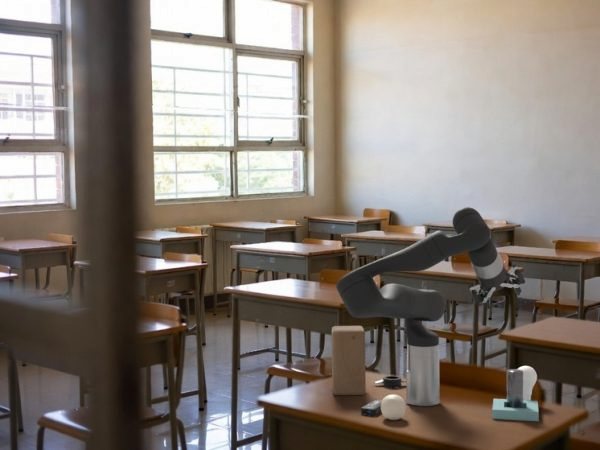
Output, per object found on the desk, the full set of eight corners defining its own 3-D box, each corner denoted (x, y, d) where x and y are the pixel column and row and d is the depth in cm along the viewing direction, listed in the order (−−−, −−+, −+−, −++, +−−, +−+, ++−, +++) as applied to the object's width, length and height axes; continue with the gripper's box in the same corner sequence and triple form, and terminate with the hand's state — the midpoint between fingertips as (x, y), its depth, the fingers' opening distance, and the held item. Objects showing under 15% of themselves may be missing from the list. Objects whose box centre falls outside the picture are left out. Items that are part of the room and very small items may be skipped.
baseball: (407, 416, 219) (407, 392, 219) (404, 423, 212) (404, 398, 212) (382, 414, 221) (382, 390, 220) (379, 422, 213) (379, 397, 213)
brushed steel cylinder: (506, 415, 218) (506, 372, 218) (506, 411, 222) (506, 368, 222) (523, 416, 217) (523, 372, 217) (523, 412, 221) (522, 369, 221)
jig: (492, 418, 215) (492, 409, 215) (493, 407, 227) (493, 398, 227) (538, 421, 212) (538, 412, 212) (537, 409, 224) (537, 400, 224)
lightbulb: (538, 406, 227) (537, 368, 226) (515, 406, 228) (515, 367, 228) (536, 401, 233) (535, 364, 232) (514, 400, 234) (514, 363, 234)
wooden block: (365, 395, 242) (365, 330, 241) (333, 396, 242) (332, 330, 241) (363, 388, 252) (363, 325, 251) (332, 388, 252) (331, 325, 251)
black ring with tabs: (399, 391, 248) (399, 381, 248) (372, 386, 254) (372, 377, 254) (412, 386, 254) (412, 377, 254) (385, 382, 260) (385, 373, 260)
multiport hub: (390, 408, 229) (390, 400, 229) (375, 417, 219) (375, 409, 219) (376, 406, 231) (376, 398, 231) (360, 415, 221) (360, 407, 221)
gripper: (467, 288, 202) (484, 321, 213) (519, 264, 200) (533, 298, 211) (457, 267, 207) (473, 300, 218) (508, 243, 205) (522, 278, 216)
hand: (503, 299), depth 215 cm, fingers open, 8 cm apart
